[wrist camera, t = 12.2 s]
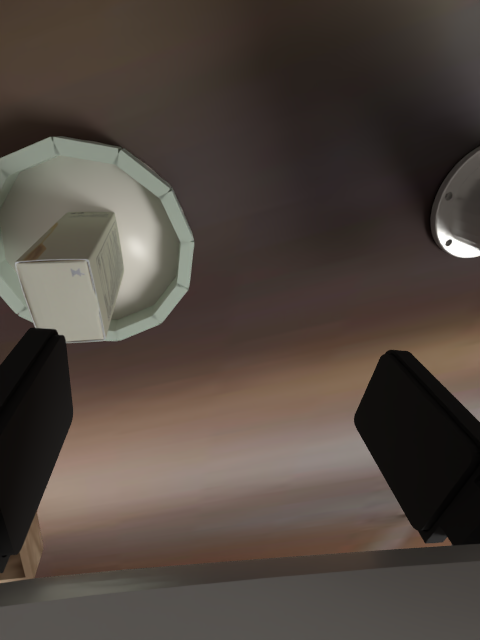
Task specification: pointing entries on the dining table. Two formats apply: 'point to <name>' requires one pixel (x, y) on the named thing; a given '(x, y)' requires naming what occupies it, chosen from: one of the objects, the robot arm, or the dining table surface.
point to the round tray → (98, 196)
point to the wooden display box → (25, 557)
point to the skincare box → (74, 276)
